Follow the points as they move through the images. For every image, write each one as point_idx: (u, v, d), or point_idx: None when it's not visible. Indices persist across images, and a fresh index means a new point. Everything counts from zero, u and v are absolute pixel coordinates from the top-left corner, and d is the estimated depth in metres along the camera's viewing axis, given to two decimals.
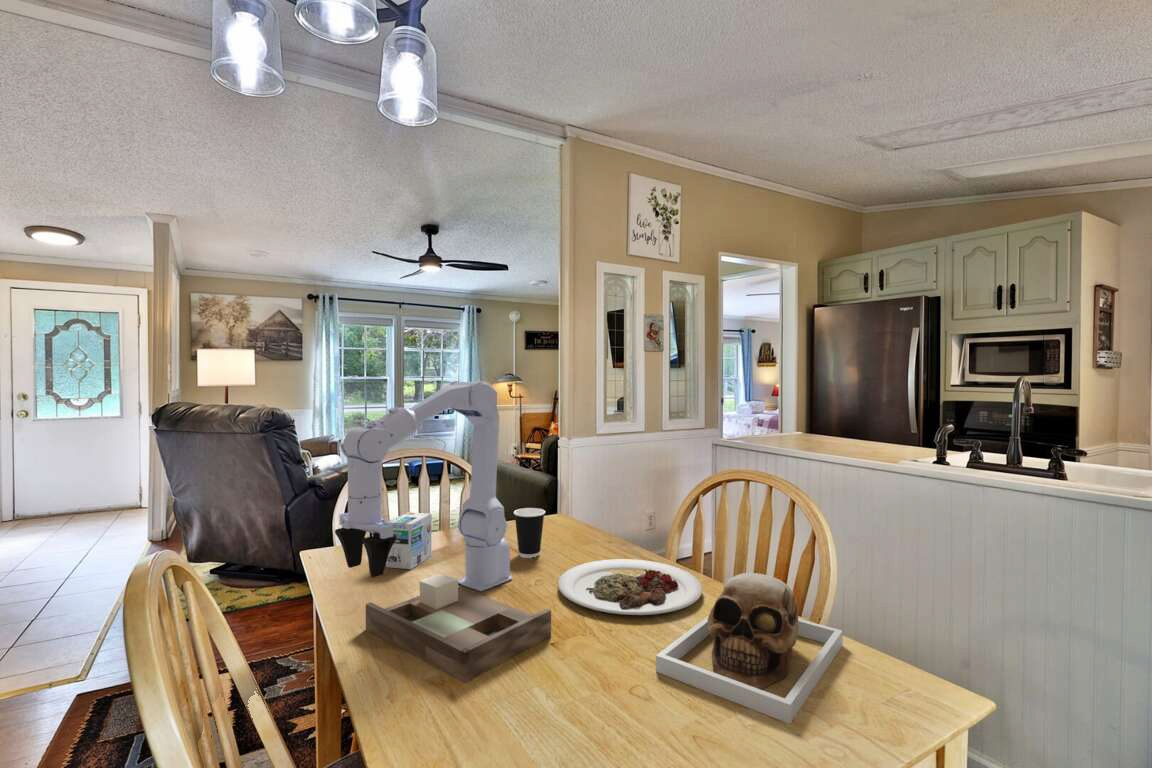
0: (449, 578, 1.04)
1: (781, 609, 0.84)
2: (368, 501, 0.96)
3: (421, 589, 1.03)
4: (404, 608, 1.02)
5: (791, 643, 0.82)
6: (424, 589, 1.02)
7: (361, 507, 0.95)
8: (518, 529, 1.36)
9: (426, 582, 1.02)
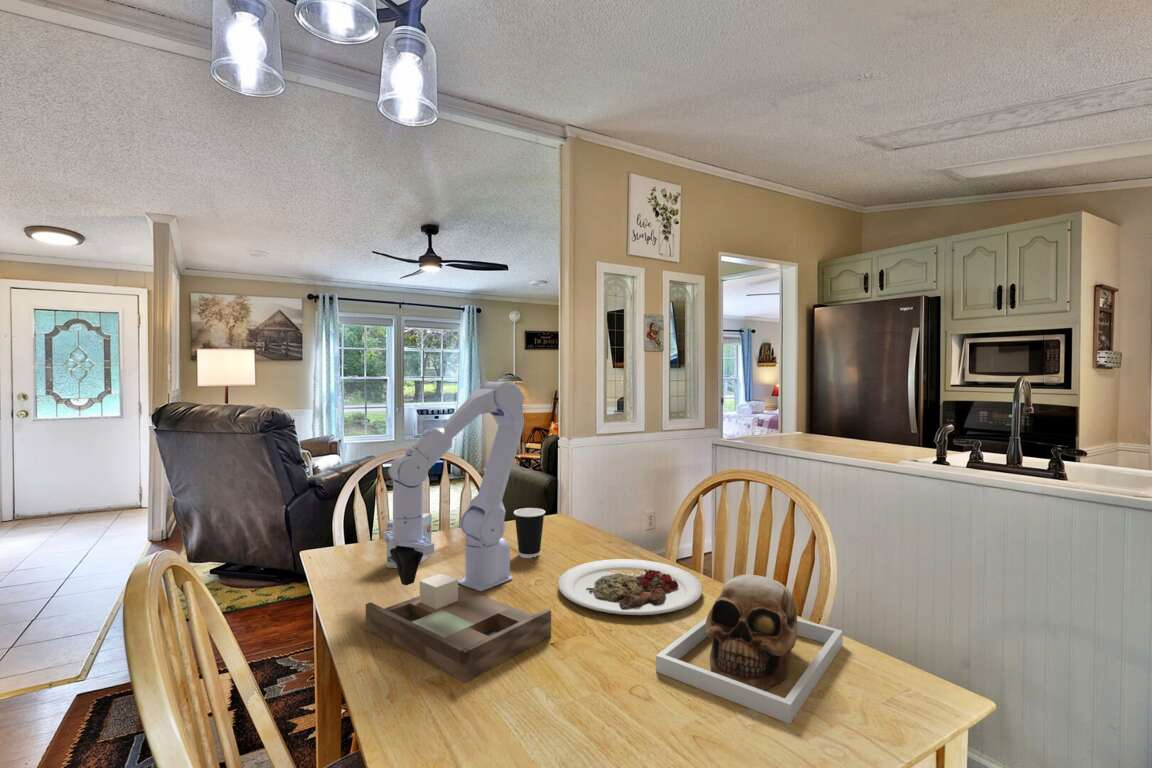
0: (449, 578, 1.04)
1: (780, 611, 0.83)
2: (411, 521, 1.07)
3: (421, 589, 1.03)
4: (404, 608, 1.02)
5: (790, 646, 0.81)
6: (424, 589, 1.02)
7: (405, 527, 1.07)
8: (518, 529, 1.36)
9: (426, 582, 1.02)
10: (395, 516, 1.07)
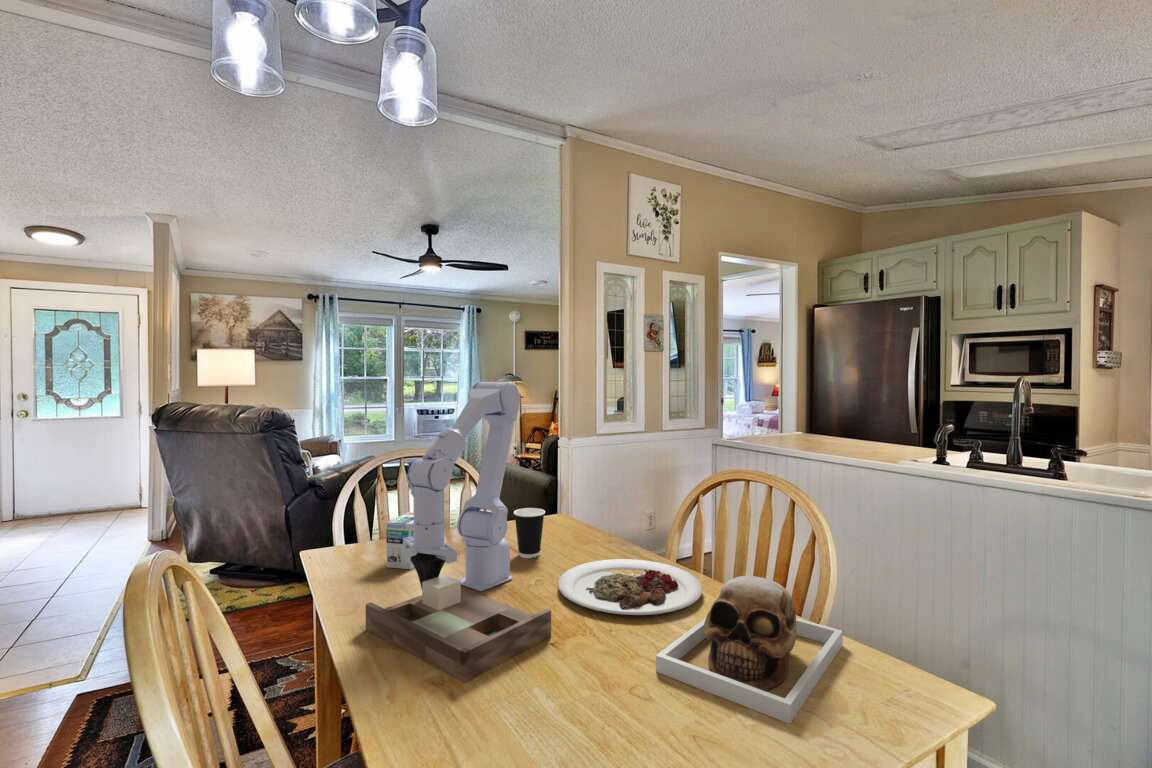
0: (451, 579, 1.04)
1: (779, 613, 0.82)
2: (433, 527, 1.03)
3: (424, 590, 1.02)
4: (404, 608, 1.02)
5: (789, 648, 0.80)
6: (426, 590, 1.02)
7: (427, 533, 1.02)
8: (518, 529, 1.36)
9: (429, 583, 1.02)
10: (421, 523, 1.02)
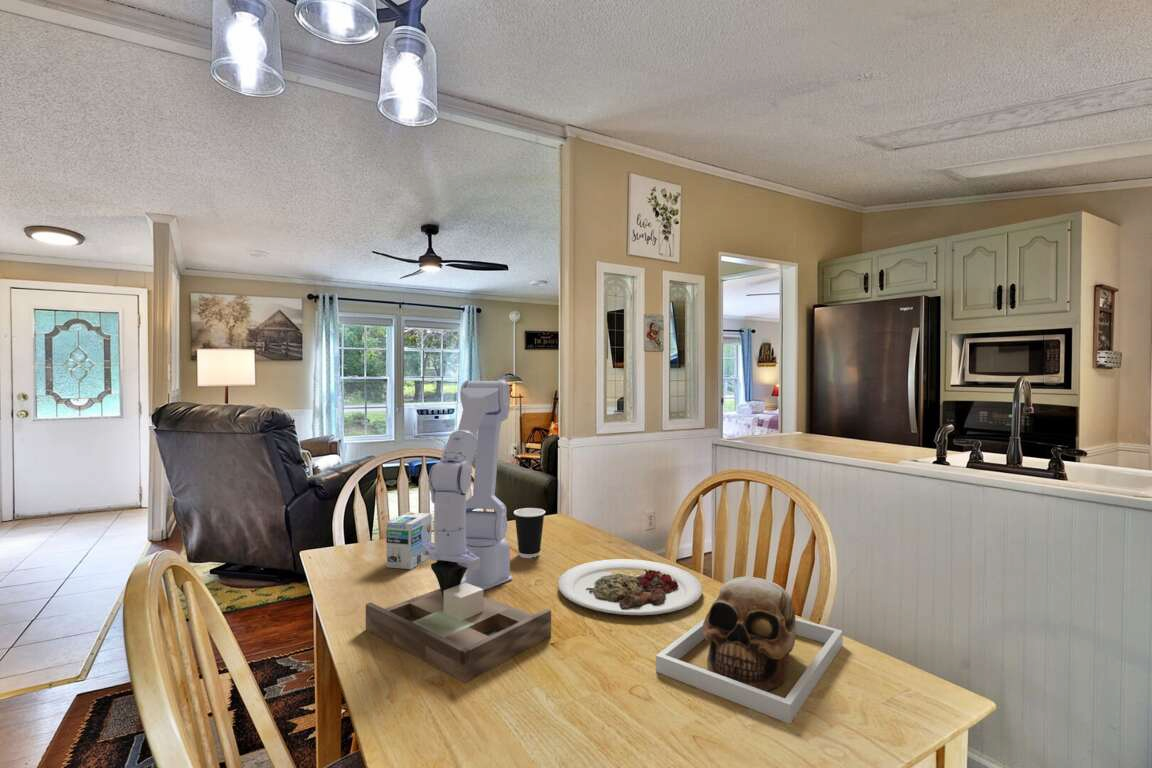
0: (473, 588, 1.00)
1: (778, 614, 0.82)
2: (455, 534, 0.99)
3: (445, 599, 0.98)
4: (404, 608, 1.02)
5: (788, 649, 0.80)
6: (448, 599, 0.97)
7: (448, 539, 0.98)
8: (518, 529, 1.36)
9: (450, 592, 0.98)
10: (448, 529, 0.98)
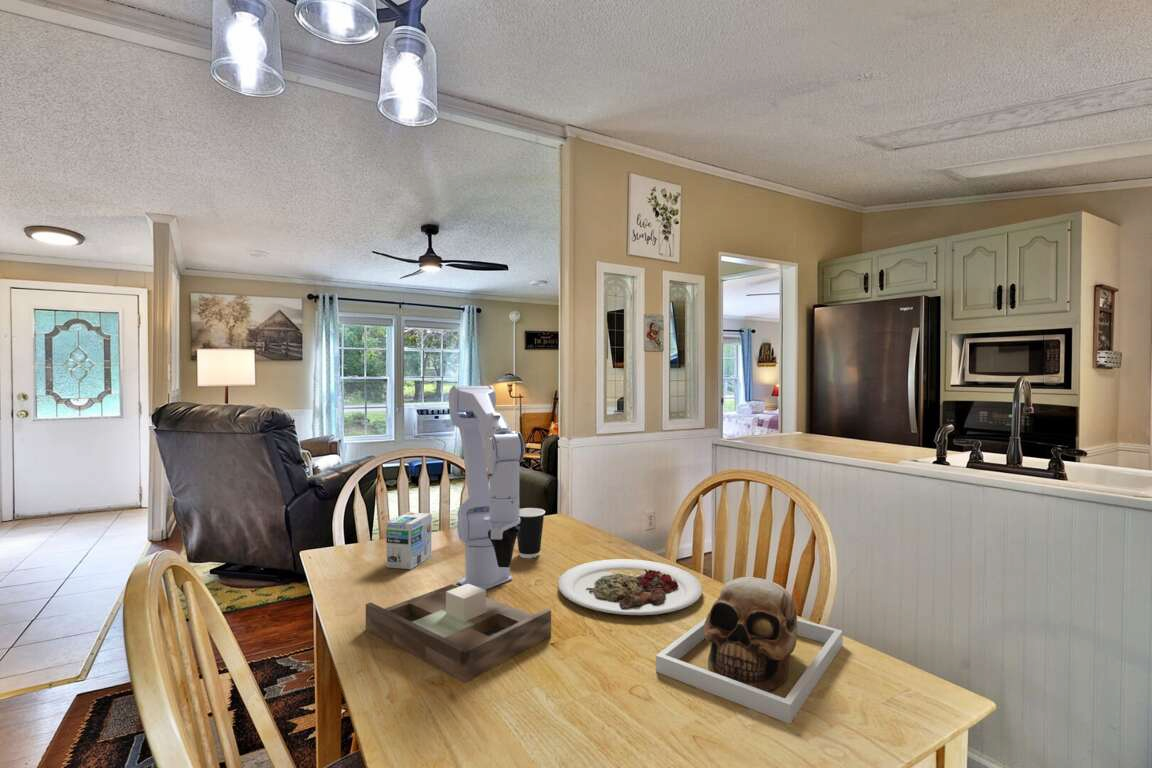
0: (476, 588, 0.99)
1: (779, 614, 0.82)
2: (496, 501, 1.03)
3: (447, 600, 0.98)
4: (404, 608, 1.02)
5: (789, 650, 0.80)
6: (451, 600, 0.97)
7: (492, 506, 1.04)
8: None
9: (453, 593, 0.97)
10: (512, 496, 1.04)
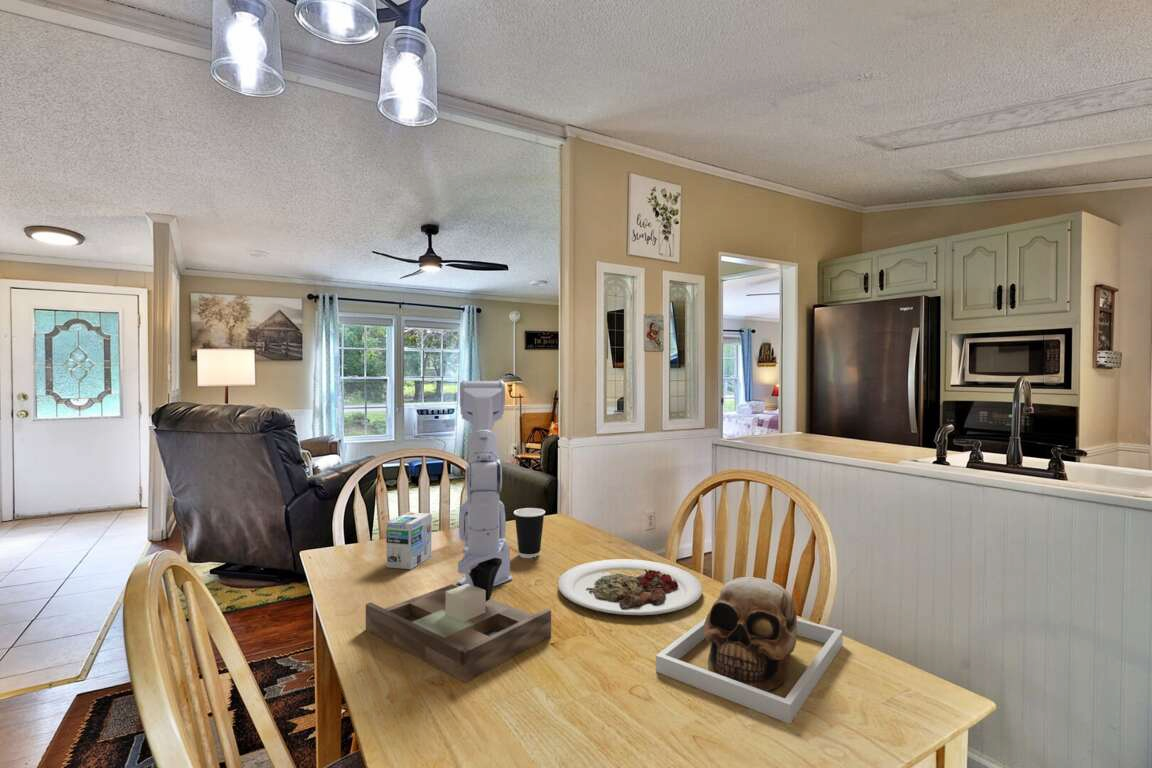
0: (475, 589, 0.99)
1: (779, 614, 0.82)
2: (471, 532, 0.99)
3: (447, 600, 0.98)
4: (404, 608, 1.02)
5: (789, 649, 0.80)
6: (450, 600, 0.97)
7: (468, 536, 1.00)
8: (518, 529, 1.36)
9: (452, 593, 0.97)
10: (487, 528, 0.99)
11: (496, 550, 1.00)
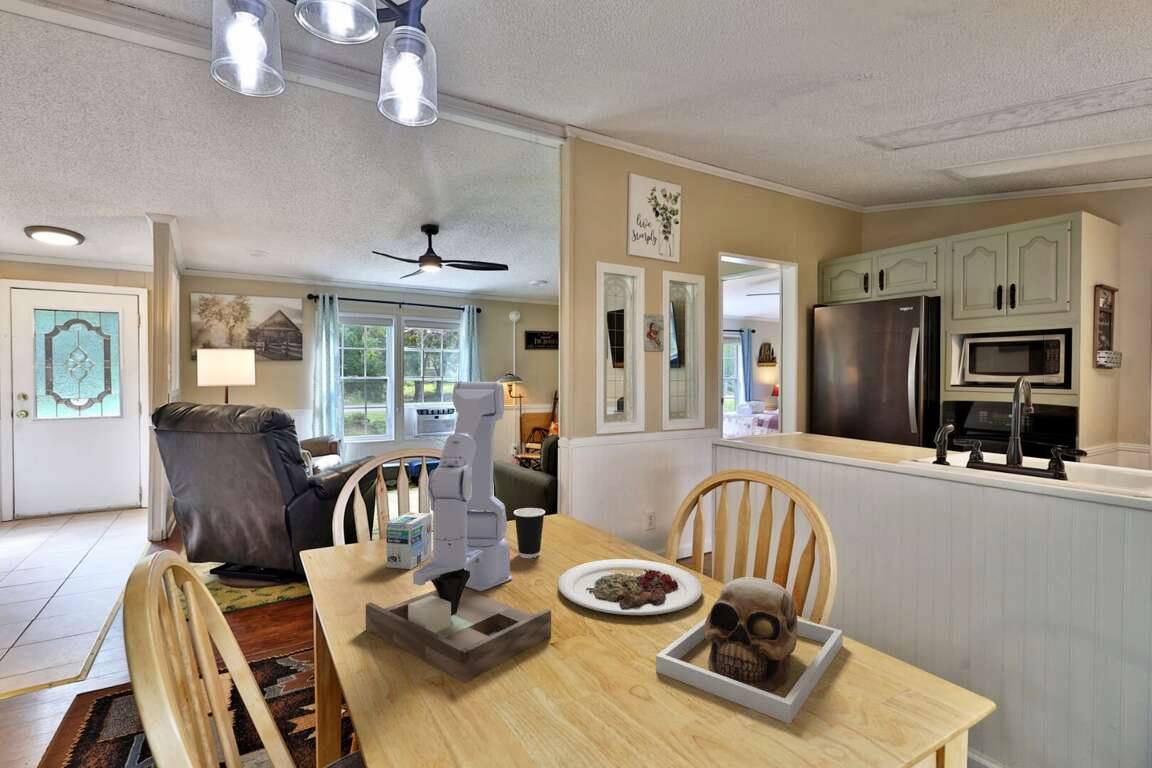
0: (440, 601, 0.94)
1: (779, 615, 0.82)
2: (434, 542, 0.94)
3: (410, 613, 0.92)
4: (404, 608, 1.02)
5: (789, 650, 0.80)
6: (413, 614, 0.92)
7: (433, 545, 0.95)
8: (518, 529, 1.36)
9: (415, 606, 0.92)
10: (449, 538, 0.93)
11: (460, 562, 0.94)
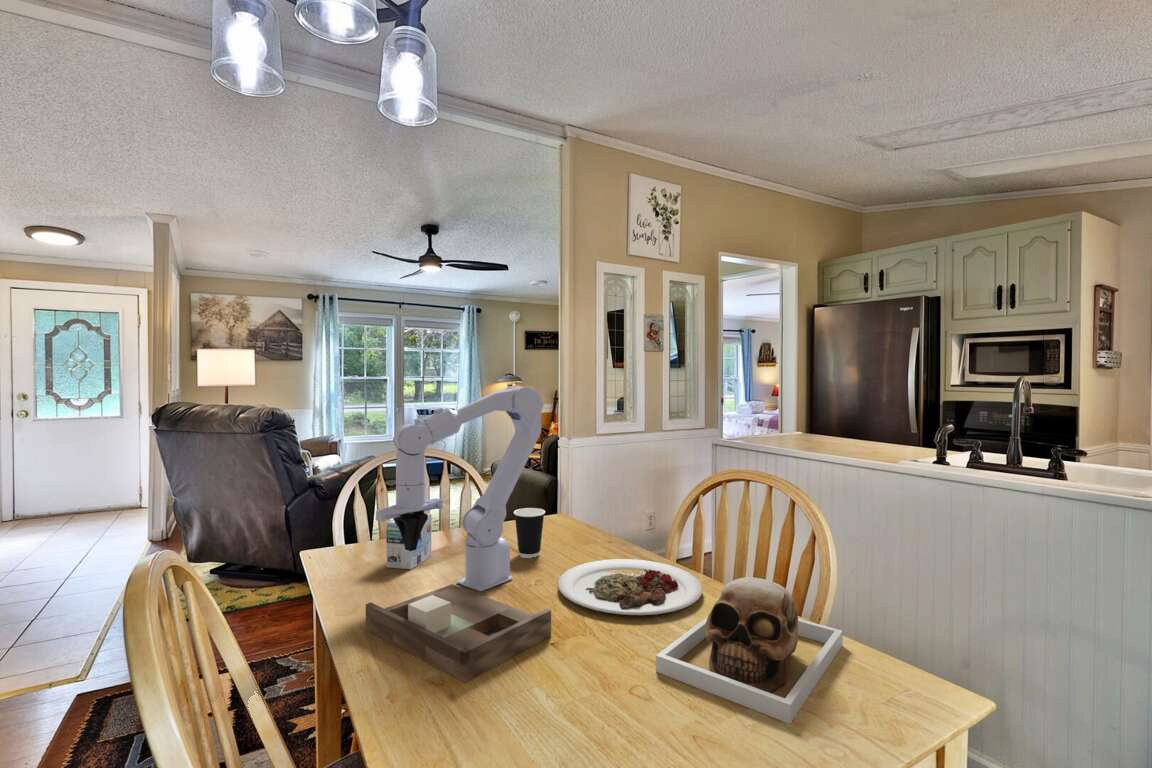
0: (440, 601, 0.94)
1: (780, 615, 0.81)
2: (396, 487, 1.11)
3: (410, 613, 0.92)
4: (404, 608, 1.02)
5: (790, 650, 0.79)
6: (413, 614, 0.91)
7: None
8: (518, 529, 1.36)
9: (415, 606, 0.92)
10: (397, 483, 1.10)
11: (417, 505, 1.10)
